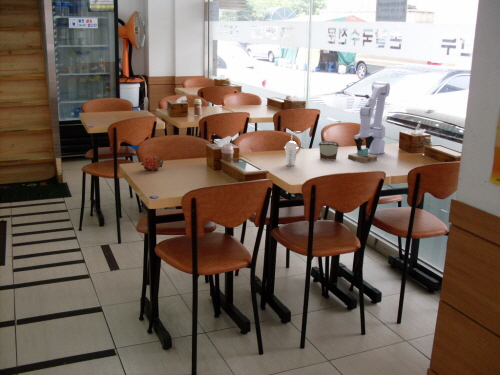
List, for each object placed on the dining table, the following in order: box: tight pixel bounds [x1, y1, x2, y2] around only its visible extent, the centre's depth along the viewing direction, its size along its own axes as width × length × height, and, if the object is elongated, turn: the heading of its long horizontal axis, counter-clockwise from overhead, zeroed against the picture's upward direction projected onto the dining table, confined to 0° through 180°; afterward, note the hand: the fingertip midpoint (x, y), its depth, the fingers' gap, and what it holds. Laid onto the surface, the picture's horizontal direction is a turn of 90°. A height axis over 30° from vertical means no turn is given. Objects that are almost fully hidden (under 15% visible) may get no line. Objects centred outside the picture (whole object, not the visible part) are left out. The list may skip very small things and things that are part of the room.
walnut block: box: [347, 153, 378, 164], centre depth 323 cm, size 12×12×3 cm
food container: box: [318, 140, 340, 161], centre depth 323 cm, size 12×6×10 cm, turn 84°
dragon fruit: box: [140, 155, 164, 172], centre depth 288 cm, size 8×8×12 cm
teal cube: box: [356, 146, 369, 157], centre depth 322 cm, size 4×4×4 cm
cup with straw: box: [283, 130, 302, 166], centre depth 303 cm, size 8×9×20 cm
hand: (363, 149), depth 322 cm, fingers open, 7 cm apart
